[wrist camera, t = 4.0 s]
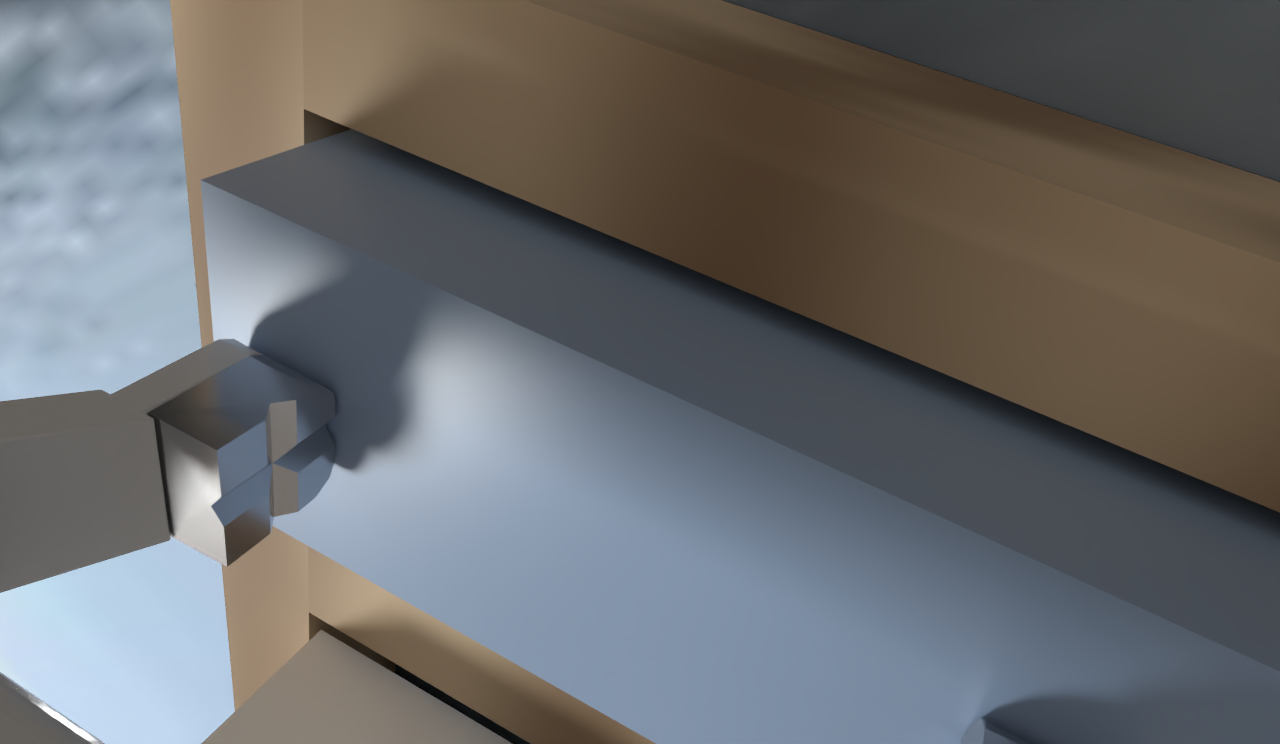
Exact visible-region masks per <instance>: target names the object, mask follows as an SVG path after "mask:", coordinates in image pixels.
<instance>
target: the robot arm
mask: <svg viewBox="0 0 1280 744" xmlns="http://www.w3.org/2000/svg"><path fill="white" fill-rule="evenodd" d="M335 417H336V409H335V395H334V394H333V393H332V392H330V391H329V390H328V389H327V388H325V387H324V386H322V385H320V384H318V383H316V382H314V381H312V380H311V379H309V378H307V377H305V376H303V375H301V374H299V373H298V372H296V371H294V370H292V369H290V368H288V367H287V366H285V365H283V364H281V363H279V362H277V361H275V360H274V359H272V358H270V357H268V356H266V355H263V354H261V353H259V352H257V351H256V350H254V349H252V348H250V347H248V346H246V345H244V344H243V343H241V342H239V341H237V340H235V339H218V340H216V341H214V342H212V343H210V344H208V345H206V346H205V347H203V348H201V349H199V350H197V351H195V352H193V353H191V354H189V355H187V356H185V357H183V358H181V359H179V360H177V361H175V362H173V363H171V364H169V365H168V366H166V367H164V368H162V369H160V370H158V371H156V372H154V373H152V374H150V375H148V376H146V377H144V378H142V379H140V380H138V381H136V382H134V383H132V384H131V385H129V386H127V387H125V388H123V389H121V390H119V391H117V392H115V393H113V394H109V393H107V392H105V391H103V390H94V391H86V392H77V393H69V394H60V395H52V396H43V397H35V398H27V399H18V400H10V401H1V402H0V593H1V592H4V591H7V590H11V589H14V588H17V587H20V586H24V585H27V584H30V583H33V582H36V581H40V580H43V579H46V578H49V577H53V576H56V575H59V574H62V573H65V572H69V571H72V570H75V569H78V568H82V567H85V566H88V565H91V564H95V563H98V562H101V561H104V560H107V559H111V558H114V557H117V556H120V555H124V554H127V553H130V552H133V551H136V550H140V549H143V548H146V547H149V546H153V545H156V544H159V543H162V542H166V541H169V540H170V536H171V537H173V538H175V539H177V540H179V541H181V542H182V543H184V544H186V545H188V546H190V547H191V548H193V549H195V550H197V551H199V552H201V553H202V554H204V555H206V556H208V557H210V558H211V559H213V560H215V561H217V562H219V563H221V564H222V565H224V566H226V567H228V566H229V565H231V564H232V563H233V562H234V561H236V560H237V559H238V558H240V557H241V556H242V555H243V554H245V553H246V552H247V551H249V550H250V549H251V548H252V547H254V546H255V545H256V544H258V543H259V542H260V541H261V540H263V539H264V538H265V537H267V536H268V535H269V534H270V533H271V529H272V525H273V520H274V517H276V516H281V515H286V514H290V513H295V512H299V511H300V510H301V509H302V508H303V507H305V506H306V505H307V504H308V503H309V502H311V501H312V500H313V499H314V498H316V496H317V495H318V493H319V492H320V491H321V489H322V488H323V486H324V485H325V483H326V482H327V480H328V479H329V478H330V475H331V471H332V468H333V465H334V462H335V443H334V441H333V439H332V437H331V435H330V433H329V431H328V429H327V427H326V425H327V424H328V423H329V422H330V421H331V420H333V419H334V418H335ZM0 744H104V743H103V742H101V741H100V740H99V739H97V738H96V737H94V736H93V735H91V734H90V733H88V732H87V731H85V730H84V729H83V728H81V727H80V726H78V725H77V724H75V723H74V722H72V721H71V720H69V719H68V718H66V717H65V716H64V715H62V714H61V713H59V712H58V711H56V710H55V709H53V708H52V707H50V706H49V705H47V704H46V703H45V702H43V701H42V700H40V699H39V698H37V697H36V696H34V695H33V694H31V693H30V692H29V691H27V690H26V689H24V688H23V687H21V686H20V685H18V684H17V683H15V682H14V681H12V680H11V679H10V678H8V677H7V676H5V675H4V674H2V673H1V672H0ZM961 744H1032V743H1030V742H1028V741H1026V740H1024V739H1022V738H1020V737H1018V736H1016V735H1014V734H1012V733H1010V732H1008V731H1006V730H1004V729H1002V728H1000V727H998V726H996V725H994V724H992V723H990V722H988V721H986V720H984V719H982V718H980V719H979V720H977V721H976V722H974V723H973V724H972V725H971V726H970V728H969V729H968V731H967V732H966V733H965V735H964V736H963V737H962V739H961Z"/></svg>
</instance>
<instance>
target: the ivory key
mask: <svg viewBox="0 0 1280 744" xmlns="http://www.w3.org/2000/svg"><path fill="white" fill-rule="evenodd" d="M202 744H512V743H511V742H509V741H507V740H506V739H504V738H502V737H501V736H499V735H497V734H496V733H494V732H492V731H491V730H489V729H487V728H486V727H484V726H482V725H480V724H479V723H477V722H475V721H474V720H472V719H470V718H469V717H467V716H465V715H464V714H462V713H460V712H459V711H457V710H455V709H454V708H452V707H450V706H449V705H447V704H445V703H444V702H442V701H440V700H439V699H437V698H435V697H433V696H432V695H430V694H428V693H427V692H425V691H423V690H422V689H420V688H418V687H417V686H415V685H413V684H412V683H410V682H408V681H407V680H405V679H403V678H402V677H400V676H398V675H397V674H395V673H393V672H391V671H390V670H388V669H386V668H385V667H383V666H381V665H380V664H378V663H376V662H375V661H373V660H371V659H370V658H368V657H366V656H365V655H363V654H361V653H360V652H358V651H356V650H355V649H353V648H351V647H350V646H348V645H346V644H344V643H343V642H341V641H339V640H338V639H336V638H334V637H333V636H331V635H329V634H328V633H326V632H324V631H323V630H320V631H319V632H318V633H317V634H316V635H315V636H314V637H313V638H312V639H311V640H310V641H309V642H308V643H307V644H306V645H304V646H303V647H302V648H301V649H300V650H299V651H298V652H297V653H296V654H295V655H294V656H293V657H292V658H291V659H290V660H289V661H288V662H287V663H286V664H285V665H284V666H282V667H281V668H280V669H279V670H278V671H277V672H276V673H275V674H274V675H273V676H272V677H271V678H270V679H269V680H268V681H267V682H266V683H265V684H264V685H263V686H261V687H260V688H259V689H258V690H257V691H256V692H255V693H254V694H253V695H252V696H251V697H250V698H249V699H248V700H247V701H246V702H245V703H244V704H243V705H242V706H241V707H239V708H238V709H237V710H236V711H235V712H234V713H233V714H232V715H231V716H230V717H229V718H228V719H227V720H226V721H225V722H224V723H223V724H222V725H221V726H220V727H219V728H217V729H216V730H215V731H214V732H213V733H212V734H211V735H210V736H209V737H208V738H207V739H206V740H205V741H204V742H203V743H202Z"/></svg>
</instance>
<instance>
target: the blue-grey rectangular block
mask: <svg viewBox="0 0 1280 744" xmlns="http://www.w3.org/2000/svg"><path fill="white" fill-rule="evenodd" d="M201 193H202V205H203V217H204V229H205V242H206V254H207V266H208V278H209V291H210V303H211V315H212V327H213V340H214V341H216V340H218V339H235V340H237V341H239V342H241V343H243V344H244V345H246V346H248V347H250V348H252V349H254V350H256V351H257V352H259V353H261V354H263V355H266V356H268V357H270V358H272V359H274V360H275V361H277V362H279V363H281V364H283V365H285V366H287V367H288V368H290V369H292V370H294V371H296V372H298V373H299V374H301V375H303V376H305V377H307V378H309V379H311V380H312V381H314V382H316V383H318V384H320V385H322V386H324V387H325V388H327V389H328V390H329V391H330V392H332V393H333V394H334V395H335V409H336V417H335V418H334V419H333V420H331V421H330V422H329V423H328V424H327V425H326V427H327V429H328V431H329V433H330V435H331V437H332V439H333V441H334V443H335V462H334V465H333V468H332V471H331V475H330V478H329V479H328V480H327V482H326V483H325V485H324V486H323V488H322V489H321V491H320V492H319V493H318V495H317V496H316V498H314V499H313V500H312V501H311V502H309V503H308V504H307V505H306V506H305V507H303V508H302V509H301V510H300V511H299V512H295V513H290V514H286V515H281V516H276V517H274V520H273V525H272V526H274V527H276V528H277V529H279V530H281V531H283V532H284V533H286V534H288V535H290V536H291V537H293V538H295V539H297V540H299V541H300V542H302V543H304V544H306V545H307V546H309V547H311V548H313V549H314V550H316V551H318V552H320V553H321V554H323V555H325V556H327V557H328V558H330V559H332V560H334V561H335V562H337V563H339V564H341V565H342V566H344V567H346V568H348V569H350V570H351V571H353V572H355V573H357V574H358V575H360V576H362V577H364V578H365V579H367V580H369V581H371V582H372V583H374V584H376V585H378V586H379V587H381V588H383V589H385V590H386V591H388V592H390V593H392V594H394V595H395V596H397V597H399V598H401V599H402V600H404V601H406V602H408V603H409V604H411V605H413V606H415V607H416V608H418V609H420V610H422V611H423V612H425V613H427V614H429V615H430V616H432V617H434V618H436V619H437V620H439V621H441V622H443V623H445V624H446V625H448V626H450V627H452V628H453V629H455V630H457V631H459V632H460V633H462V634H464V635H466V636H467V637H469V638H471V639H473V640H474V641H476V642H478V643H480V644H481V645H483V646H485V647H487V648H489V649H490V650H492V651H494V652H496V653H497V654H499V655H501V656H503V657H504V658H506V659H508V660H510V661H511V662H513V663H515V664H517V665H518V666H520V667H522V668H524V669H525V670H527V671H529V672H531V673H532V674H534V675H536V676H538V677H540V678H541V679H543V680H545V681H547V682H548V683H550V684H552V685H554V686H555V687H557V688H559V689H561V690H562V691H564V692H566V693H568V694H569V695H571V696H573V697H575V698H576V699H578V700H580V701H582V702H584V703H585V704H587V705H589V706H591V707H592V708H594V709H596V710H598V711H599V712H601V713H603V714H605V715H606V716H608V717H610V718H612V719H613V720H615V721H617V722H619V723H620V724H622V725H624V726H626V727H627V728H629V729H631V730H633V731H635V732H636V733H638V734H640V735H642V736H643V737H645V738H647V739H649V740H650V741H652V742H654V743H656V744H961V739H962V737H963V736H964V735H965V733H966V732H967V731H968V729H969V728H970V726H971V725H972V724H973V723H974V722H976V721H977V720H979V719H980V718H982V719H984V720H986V721H988V722H990V723H992V724H994V725H996V726H998V727H1000V728H1002V729H1004V730H1006V731H1008V732H1010V733H1012V734H1014V735H1016V736H1018V737H1020V738H1022V739H1024V740H1026V741H1028V742H1030V743H1032V744H1280V512H1277V511H1275V510H1272V509H1270V508H1268V507H1265V506H1263V505H1260V504H1258V503H1256V502H1253V501H1251V500H1248V499H1246V498H1243V497H1241V496H1239V495H1236V494H1234V493H1231V492H1229V491H1227V490H1224V489H1222V488H1219V487H1217V486H1214V485H1212V484H1210V483H1207V482H1205V481H1202V480H1200V479H1198V478H1195V477H1193V476H1190V475H1188V474H1185V473H1183V472H1181V471H1178V470H1176V469H1173V468H1171V467H1168V466H1166V465H1164V464H1161V463H1159V462H1156V461H1154V460H1152V459H1149V458H1147V457H1144V456H1142V455H1139V454H1137V453H1135V452H1132V451H1130V450H1127V449H1125V448H1123V447H1120V446H1118V445H1115V444H1113V443H1110V442H1108V441H1106V440H1103V439H1101V438H1098V437H1096V436H1094V435H1091V434H1089V433H1086V432H1084V431H1081V430H1079V429H1077V428H1074V427H1072V426H1069V425H1067V424H1064V423H1062V422H1060V421H1057V420H1055V419H1052V418H1050V417H1048V416H1045V415H1043V414H1040V413H1038V412H1035V411H1033V410H1031V409H1028V408H1026V407H1023V406H1021V405H1019V404H1016V403H1014V402H1011V401H1009V400H1006V399H1004V398H1002V397H999V396H997V395H994V394H992V393H990V392H987V391H985V390H982V389H980V388H977V387H975V386H973V385H970V384H968V383H965V382H963V381H961V380H958V379H956V378H953V377H951V376H948V375H946V374H944V373H941V372H939V371H936V370H934V369H931V368H929V367H927V366H924V365H922V364H919V363H917V362H915V361H912V360H910V359H907V358H905V357H902V356H900V355H898V354H895V353H893V352H890V351H888V350H886V349H883V348H881V347H878V346H876V345H873V344H871V343H869V342H866V341H864V340H861V339H859V338H857V337H854V336H852V335H849V334H847V333H844V332H842V331H840V330H837V329H835V328H832V327H830V326H827V325H825V324H823V323H820V322H818V321H815V320H813V319H811V318H808V317H806V316H803V315H801V314H798V313H796V312H794V311H791V310H789V309H786V308H784V307H782V306H779V305H777V304H774V303H772V302H769V301H767V300H765V299H762V298H760V297H757V296H755V295H753V294H750V293H748V292H745V291H743V290H740V289H738V288H736V287H733V286H731V285H728V284H726V283H723V282H721V281H719V280H716V279H714V278H711V277H709V276H707V275H704V274H702V273H699V272H697V271H694V270H692V269H690V268H687V267H685V266H682V265H680V264H678V263H675V262H673V261H670V260H668V259H665V258H663V257H661V256H658V255H656V254H653V253H651V252H649V251H646V250H644V249H641V248H639V247H636V246H634V245H632V244H629V243H627V242H624V241H622V240H620V239H617V238H615V237H612V236H610V235H607V234H605V233H603V232H600V231H598V230H595V229H593V228H590V227H588V226H586V225H583V224H581V223H578V222H576V221H574V220H571V219H569V218H566V217H564V216H561V215H559V214H557V213H554V212H552V211H549V210H547V209H545V208H542V207H540V206H537V205H535V204H532V203H530V202H528V201H525V200H523V199H520V198H518V197H516V196H513V195H511V194H508V193H506V192H503V191H501V190H499V189H496V188H494V187H491V186H489V185H486V184H484V183H482V182H479V181H477V180H474V179H472V178H470V177H467V176H465V175H462V174H460V173H457V172H455V171H453V170H450V169H448V168H445V167H443V166H441V165H438V164H436V163H433V162H431V161H428V160H426V159H424V158H421V157H419V156H416V155H414V154H412V153H409V152H407V151H404V150H402V149H399V148H397V147H395V146H392V145H390V144H387V143H385V142H382V141H380V140H378V139H375V138H373V137H370V136H368V135H366V134H363V133H361V132H358V131H356V130H353V129H350V130H347V131H344V132H341V133H338V134H335V135H332V136H329V137H326V138H323V139H320V140H317V141H314V142H311V143H308V144H305V145H302V146H299V147H297V148H294V149H291V150H288V151H285V152H282V153H279V154H276V155H273V156H270V157H267V158H264V159H261V160H258V161H255V162H252V163H249V164H246V165H243V166H240V167H237V168H234V169H231V170H228V171H225V172H222V173H219V174H216V175H213V176H210V177H207V178H204V179H201Z"/></svg>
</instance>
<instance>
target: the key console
mask: <svg viewBox="0 0 1280 744" xmlns="http://www.w3.org/2000/svg"><path fill="white" fill-rule="evenodd" d="M170 3H171V14H172V25H173V36H174V47H175V58H176V69H177V80H178V91H179V102H180V113H181V124H182V135H183V146H184V157H185V168H186V179H187V190H188V201H189V212H190V223H191V234H192V245H193V256H194V267H195V277H196V288H197V299H198V310H199V321H200V332H201V343H202V348H203V347H205V346H206V345H208V344H210V343H212V342H214V340H213V327H212V315H211V303H210V291H209V278H208V266H207V254H206V242H205V229H204V217H203V205H202V193H201V179H204V178H207V177H210V176H213V175H216V174H219V173H222V172H225V171H228V170H231V169H234V168H237V167H240V166H243V165H246V164H249V163H252V162H255V161H258V160H261V159H264V158H267V157H270V156H273V155H276V154H279V153H282V152H285V151H288V150H291V149H294V148H297V147H299V146H302V145H305V144H308V143H311V142H314V141H317V140H320V139H323V138H326V137H329V136H332V135H335V134H338V133H341V132H344V131H347V130H350V129H353V130H356V131H358V132H361V133H363V134H366V135H368V136H370V137H373V138H375V139H378V140H380V141H382V142H385V143H387V144H390V145H392V146H395V147H397V148H399V149H402V150H404V151H407V152H409V153H412V154H414V155H416V156H419V157H421V158H424V159H426V160H428V161H431V162H433V163H436V164H438V165H441V166H443V167H445V168H448V169H450V170H453V171H455V172H457V173H460V174H462V175H465V176H467V177H470V178H472V179H474V180H477V181H479V182H482V183H484V184H486V185H489V186H491V187H494V188H496V189H499V190H501V191H503V192H506V193H508V194H511V195H513V196H516V197H518V198H520V199H523V200H525V201H528V202H530V203H532V204H535V205H537V206H540V207H542V208H545V209H547V210H549V211H552V212H554V213H557V214H559V215H561V216H564V217H566V218H569V219H571V220H574V221H576V222H578V223H581V224H583V225H586V226H588V227H590V228H593V229H595V230H598V231H600V232H603V233H605V234H607V235H610V236H612V237H615V238H617V239H620V240H622V241H624V242H627V243H629V244H632V245H634V246H636V247H639V248H641V249H644V250H646V251H649V252H651V253H653V254H656V255H658V256H661V257H663V258H665V259H668V260H670V261H673V262H675V263H678V264H680V265H682V266H685V267H687V268H690V269H692V270H694V271H697V272H699V273H702V274H704V275H707V276H709V277H711V278H714V279H716V280H719V281H721V282H723V283H726V284H728V285H731V286H733V287H736V288H738V289H740V290H743V291H745V292H748V293H750V294H753V295H755V296H757V297H760V298H762V299H765V300H767V301H769V302H772V303H774V304H777V305H779V306H782V307H784V308H786V309H789V310H791V311H794V312H796V313H798V314H801V315H803V316H806V317H808V318H811V319H813V320H815V321H818V322H820V323H823V324H825V325H827V326H830V327H832V328H835V329H837V330H840V331H842V332H844V333H847V334H849V335H852V336H854V337H857V338H859V339H861V340H864V341H866V342H869V343H871V344H873V345H876V346H878V347H881V348H883V349H886V350H888V351H890V352H893V353H895V354H898V355H900V356H902V357H905V358H907V359H910V360H912V361H915V362H917V363H919V364H922V365H924V366H927V367H929V368H931V369H934V370H936V371H939V372H941V373H944V374H946V375H948V376H951V377H953V378H956V379H958V380H961V381H963V382H965V383H968V384H970V385H973V386H975V387H977V388H980V389H982V390H985V391H987V392H990V393H992V394H994V395H997V396H999V397H1002V398H1004V399H1006V400H1009V401H1011V402H1014V403H1016V404H1019V405H1021V406H1023V407H1026V408H1028V409H1031V410H1033V411H1035V412H1038V413H1040V414H1043V415H1045V416H1048V417H1050V418H1052V419H1055V420H1057V421H1060V422H1062V423H1064V424H1067V425H1069V426H1072V427H1074V428H1077V429H1079V430H1081V431H1084V432H1086V433H1089V434H1091V435H1094V436H1096V437H1098V438H1101V439H1103V440H1106V441H1108V442H1110V443H1113V444H1115V445H1118V446H1120V447H1123V448H1125V449H1127V450H1130V451H1132V452H1135V453H1137V454H1139V455H1142V456H1144V457H1147V458H1149V459H1152V460H1154V461H1156V462H1159V463H1161V464H1164V465H1166V466H1168V467H1171V468H1173V469H1176V470H1178V471H1181V472H1183V473H1185V474H1188V475H1190V476H1193V477H1195V478H1198V479H1200V480H1202V481H1205V482H1207V483H1210V484H1212V485H1214V486H1217V487H1219V488H1222V489H1224V490H1227V491H1229V492H1231V493H1234V494H1236V495H1239V496H1241V497H1243V498H1246V499H1248V500H1251V501H1253V502H1256V503H1258V504H1260V505H1263V506H1265V507H1268V508H1270V509H1272V510H1275V511H1277V512H1280V182H1277V181H1274V180H1271V179H1268V178H1265V177H1262V176H1259V175H1256V174H1253V173H1250V172H1247V171H1244V170H1241V169H1238V168H1234V167H1231V166H1228V165H1225V164H1222V163H1219V162H1216V161H1213V160H1210V159H1207V158H1204V157H1201V156H1198V155H1195V154H1192V153H1188V152H1185V151H1182V150H1179V149H1176V148H1173V147H1170V146H1167V145H1164V144H1161V143H1158V142H1155V141H1152V140H1149V139H1146V138H1142V137H1139V136H1136V135H1133V134H1130V133H1127V132H1124V131H1121V130H1118V129H1115V128H1112V127H1109V126H1106V125H1103V124H1100V123H1096V122H1093V121H1090V120H1087V119H1084V118H1081V117H1078V116H1075V115H1072V114H1069V113H1066V112H1063V111H1060V110H1057V109H1054V108H1050V107H1047V106H1044V105H1041V104H1038V103H1035V102H1032V101H1029V100H1026V99H1023V98H1020V97H1017V96H1014V95H1011V94H1008V93H1004V92H1001V91H998V90H995V89H992V88H989V87H986V86H983V85H980V84H977V83H974V82H971V81H968V80H965V79H962V78H959V77H955V76H952V75H949V74H946V73H943V72H940V71H937V70H934V69H931V68H928V67H925V66H922V65H919V64H916V63H913V62H909V61H906V60H903V59H900V58H897V57H894V56H891V55H888V54H885V53H882V52H879V51H876V50H873V49H870V48H867V47H863V46H860V45H857V44H854V43H851V42H848V41H845V40H842V39H839V38H836V37H833V36H830V35H827V34H824V33H821V32H817V31H814V30H811V29H808V28H805V27H802V26H799V25H796V24H793V23H790V22H787V21H784V20H781V19H778V18H775V17H771V16H768V15H765V14H762V13H759V12H756V11H753V10H750V9H747V8H744V7H741V6H738V5H735V4H732V3H729V2H725V1H722V0H170ZM222 573H223V584H224V595H225V606H226V617H227V628H228V639H229V650H230V661H231V672H232V683H233V694H234V705H235V711H236V710H237V709H238V708H239V707H241V706H242V705H243V704H244V703H245V702H246V701H247V700H248V699H249V698H250V697H251V696H252V695H253V694H254V693H255V692H256V691H257V690H258V689H259V688H260V687H261V686H263V685H264V684H265V683H266V682H267V681H268V680H269V679H270V678H271V677H272V676H273V675H274V674H275V673H276V672H277V671H278V670H279V669H280V668H281V667H282V666H284V665H285V664H286V663H287V662H288V661H289V660H290V659H291V658H292V657H293V656H294V655H295V654H296V653H297V652H298V651H299V650H300V649H301V648H302V647H303V646H304V645H306V644H307V643H308V642H309V641H310V640H311V639H312V638H313V637H314V636H315V635H316V634H317V633H318V632H319V631H320V630H323V631H324V632H326V633H328V634H329V635H331V636H333V637H334V638H336V639H338V640H339V641H341V642H343V643H344V644H346V645H348V646H350V647H351V648H353V649H355V650H356V651H358V652H360V653H361V654H363V655H365V656H366V657H368V658H370V659H371V660H373V661H375V662H376V663H378V664H380V665H381V666H383V667H385V668H386V669H388V670H390V671H391V672H393V673H395V670H396V664H397V665H399V666H400V667H402V668H404V669H405V670H407V671H409V672H410V673H412V674H414V675H416V676H417V677H419V678H421V679H422V680H424V681H426V682H427V683H429V684H431V685H432V686H434V687H436V688H438V689H439V690H441V691H443V692H444V693H446V694H448V695H449V696H451V697H453V698H454V699H456V700H458V701H459V702H461V703H463V704H465V705H466V706H468V707H470V708H471V709H473V710H475V711H476V712H478V713H480V714H481V715H483V716H485V717H487V718H488V719H490V720H492V721H493V722H495V723H497V724H498V725H500V726H502V727H503V728H505V729H507V730H508V731H510V732H512V733H514V734H515V735H517V736H519V737H520V738H522V739H524V740H525V741H527V742H529V743H530V744H656V743H654V742H652V741H650V740H649V739H647V738H645V737H643V736H642V735H640V734H638V733H636V732H635V731H633V730H631V729H629V728H627V727H626V726H624V725H622V724H620V723H619V722H617V721H615V720H613V719H612V718H610V717H608V716H606V715H605V714H603V713H601V712H599V711H598V710H596V709H594V708H592V707H591V706H589V705H587V704H585V703H584V702H582V701H580V700H578V699H576V698H575V697H573V696H571V695H569V694H568V693H566V692H564V691H562V690H561V689H559V688H557V687H555V686H554V685H552V684H550V683H548V682H547V681H545V680H543V679H541V678H540V677H538V676H536V675H534V674H532V673H531V672H529V671H527V670H525V669H524V668H522V667H520V666H518V665H517V664H515V663H513V662H511V661H510V660H508V659H506V658H504V657H503V656H501V655H499V654H497V653H496V652H494V651H492V650H490V649H489V648H487V647H485V646H483V645H481V644H480V643H478V642H476V641H474V640H473V639H471V638H469V637H467V636H466V635H464V634H462V633H460V632H459V631H457V630H455V629H453V628H452V627H450V626H448V625H446V624H445V623H443V622H441V621H439V620H437V619H436V618H434V617H432V616H430V615H429V614H427V613H425V612H423V611H422V610H420V609H418V608H416V607H415V606H413V605H411V604H409V603H408V602H406V601H404V600H402V599H401V598H399V597H397V596H395V595H394V594H392V593H390V592H388V591H386V590H385V589H383V588H381V587H379V586H378V585H376V584H374V583H372V582H371V581H369V580H367V579H365V578H364V577H362V576H360V575H358V574H357V573H355V572H353V571H351V570H350V569H348V568H346V567H344V566H342V565H341V564H339V563H337V562H335V561H334V560H332V559H330V558H328V557H327V556H325V555H323V554H321V553H320V552H318V551H316V550H314V549H313V548H311V547H309V546H307V545H306V544H304V543H302V542H300V541H299V540H297V539H295V538H293V537H291V536H290V535H288V534H286V533H284V532H283V531H281V530H279V529H277V528H276V527H274V526H272V529H271V533H270V534H269V535H268V536H267V537H265V538H264V539H263V540H261V541H260V542H259V543H258V544H256V545H255V546H254V547H252V548H251V549H250V550H249V551H247V552H246V553H245V554H243V555H242V556H241V557H240V558H238V559H237V560H236V561H234V562H233V563H232V564H231V565H229V566H228V567H226V566H224V565H222Z"/></svg>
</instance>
